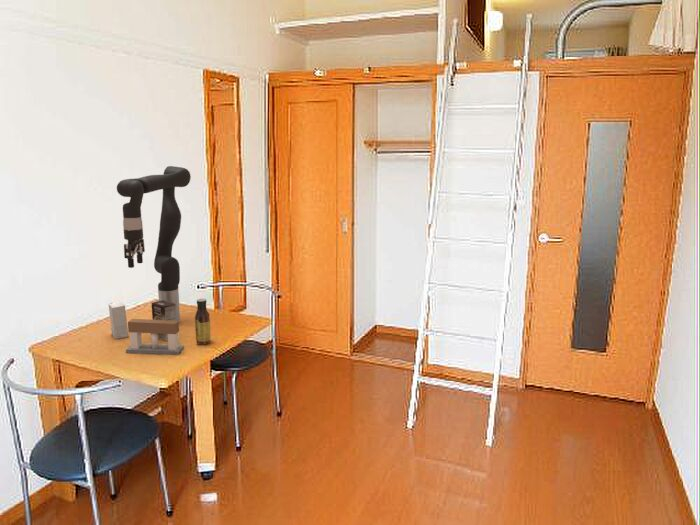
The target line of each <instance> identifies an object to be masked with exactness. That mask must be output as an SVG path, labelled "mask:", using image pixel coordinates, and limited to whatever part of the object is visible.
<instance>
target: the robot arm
mask: <svg viewBox="0 0 700 525" xmlns="http://www.w3.org/2000/svg"><path fill="white" fill-rule="evenodd" d="M191 177H192V175H191V172H190V171H189V170H188V168H185V167H182V166H180V167H179V166H175V165H174V166H172V165H169V166H166V167H165V169H164V171H163V174H151V175H145V176H142V177H138V178H126V179H122V180H120V181H119V182H118V183H117V185H116V192H117V193H118V194H119V196H121V197H123V198H130V199H129V202H125V203H124V204H123V205H122V217H123V220H122V226H123V239H124V240H126V241H127V243H124V244H123V253H124V254H123V255H124V259H127V265H128V266H127V267H128V269H133V268H135V261H134V258H135V255H136V262H137V264H142V263H144V261H143V255H144V253H145V251H146V249H145V240H144V230H143V229H144V228H143V218H142V209H141V207H142V203H143V199H144V198H143V197H144V194H148V193H153V192H156V191H161V190H162V203H161V212H160V220H159V229H158V231H159V232H158V239H157V240H158V241H157V248H156V252H155V257H154V260H153V261H154V262H153V266H154V269H155V271H156V272H157V273H159V274H160V276H161V277H160V278H161V279H160V280H161V281H160V282H159V283H158V284H157V296H158V301H162V300H164V301H168V302H171V303H175V304H176V321H179V324H180V323H181V314H180V311H181V310H180V308H181V307H180V292H179V291H180V290H179V284H180V280H181V279H180V278H181V277H180V276H181V275H180V274H181V272H180V271H181V269H180V262H179V260H178V259H177V258H176V257H173V256H172V252H173V245H174V243H175V240H176V239H177V237H178V235H179V232H180V229H181V222H182V213H181V210H180V207H179V205H178V203H177V200H176V196H175V195H176V194H175V193H176V192H175V191H176V190H175V189H176V188H184V187H187V186H188V185H189V184H190V182H191Z"/></svg>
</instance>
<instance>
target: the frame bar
mask: <svg viewBox="0 0 700 525" xmlns="http://www.w3.org/2000/svg"><path fill="white" fill-rule="evenodd" d="M127 328H128V333H130V332H135V333H141V334H150V333H158V334H176V333H178V334H179V332H180V323H179V321H172V320H153V319H146V318H131V319H130V320H128V321H127Z"/></svg>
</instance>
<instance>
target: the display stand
mask: <svg viewBox="0 0 700 525" xmlns="http://www.w3.org/2000/svg"><path fill="white" fill-rule="evenodd" d="M149 334H150V335H149V336H150V343H143V341H142V340H143V338H142V333H135V332H129V342H130V343H129V344H130V345H129V346H128V347H127V348H125V354H139V353H140V355H141V354H142V355H143V354H144V355H145V354H146V355H148V354H149V355H170V356H171V355H172V356H174V355H175V356H179V354H181V352H182V351H183V350H184V349H185V346H184V345H183V344H180V338H179V332H178V333H176V334H168V341H167V344H160V343H159V342H160V341H159V340H160V339H158V333H149Z"/></svg>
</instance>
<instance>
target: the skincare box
mask: <svg viewBox="0 0 700 525" xmlns="http://www.w3.org/2000/svg"><path fill="white" fill-rule="evenodd" d="M126 310H127V309H126V305H125V304H124V303H123V301H118V302H113V303H112V302H111V303H108V311H109V321H110V330H111V335H112V337H113V338H114V339H115V340H118V339H125V338H128V337H129V331H128V321H127V320H128V319H127V312H126Z"/></svg>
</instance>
